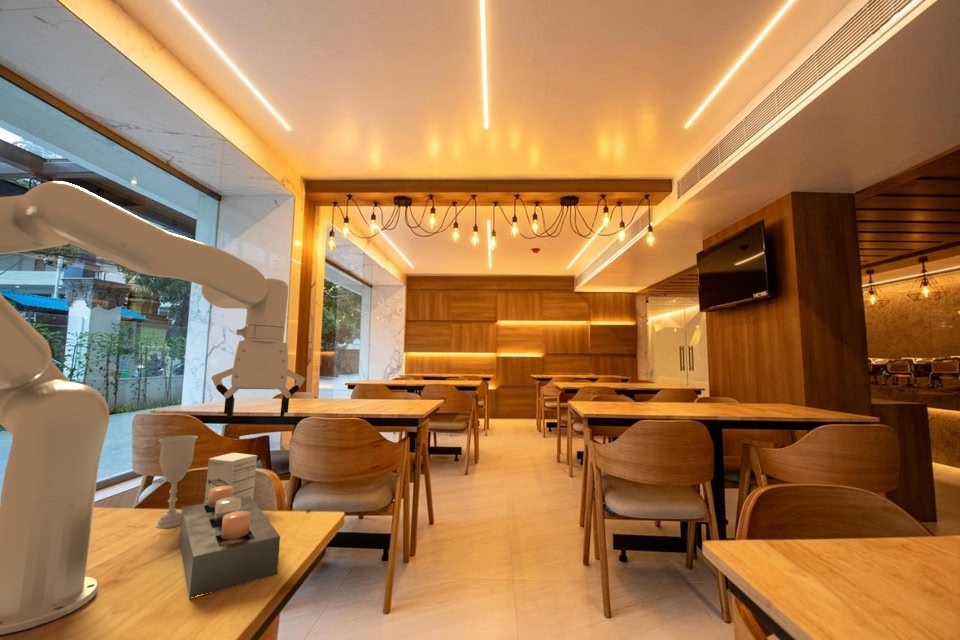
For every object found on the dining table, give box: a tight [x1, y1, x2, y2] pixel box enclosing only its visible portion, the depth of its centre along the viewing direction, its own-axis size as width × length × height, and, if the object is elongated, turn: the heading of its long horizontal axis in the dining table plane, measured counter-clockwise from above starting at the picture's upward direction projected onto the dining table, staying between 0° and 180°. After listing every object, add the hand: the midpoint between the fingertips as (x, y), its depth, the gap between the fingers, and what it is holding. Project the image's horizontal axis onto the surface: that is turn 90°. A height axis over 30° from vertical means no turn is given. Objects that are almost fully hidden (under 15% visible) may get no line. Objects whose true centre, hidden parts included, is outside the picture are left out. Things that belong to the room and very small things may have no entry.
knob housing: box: [178, 496, 281, 599], centre depth 73 cm, size 12×26×6 cm, turn 40°
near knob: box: [221, 511, 251, 540], centre depth 67 cm, size 4×4×3 cm
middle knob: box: [214, 497, 241, 522], centre depth 74 cm, size 4×4×3 cm
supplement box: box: [203, 452, 258, 504], centre depth 95 cm, size 7×7×13 cm
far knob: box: [208, 486, 233, 508], centre depth 81 cm, size 4×4×3 cm
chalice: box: [155, 434, 199, 529], centre depth 88 cm, size 7×7×18 cm
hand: (256, 417), depth 84 cm, fingers open, 9 cm apart
